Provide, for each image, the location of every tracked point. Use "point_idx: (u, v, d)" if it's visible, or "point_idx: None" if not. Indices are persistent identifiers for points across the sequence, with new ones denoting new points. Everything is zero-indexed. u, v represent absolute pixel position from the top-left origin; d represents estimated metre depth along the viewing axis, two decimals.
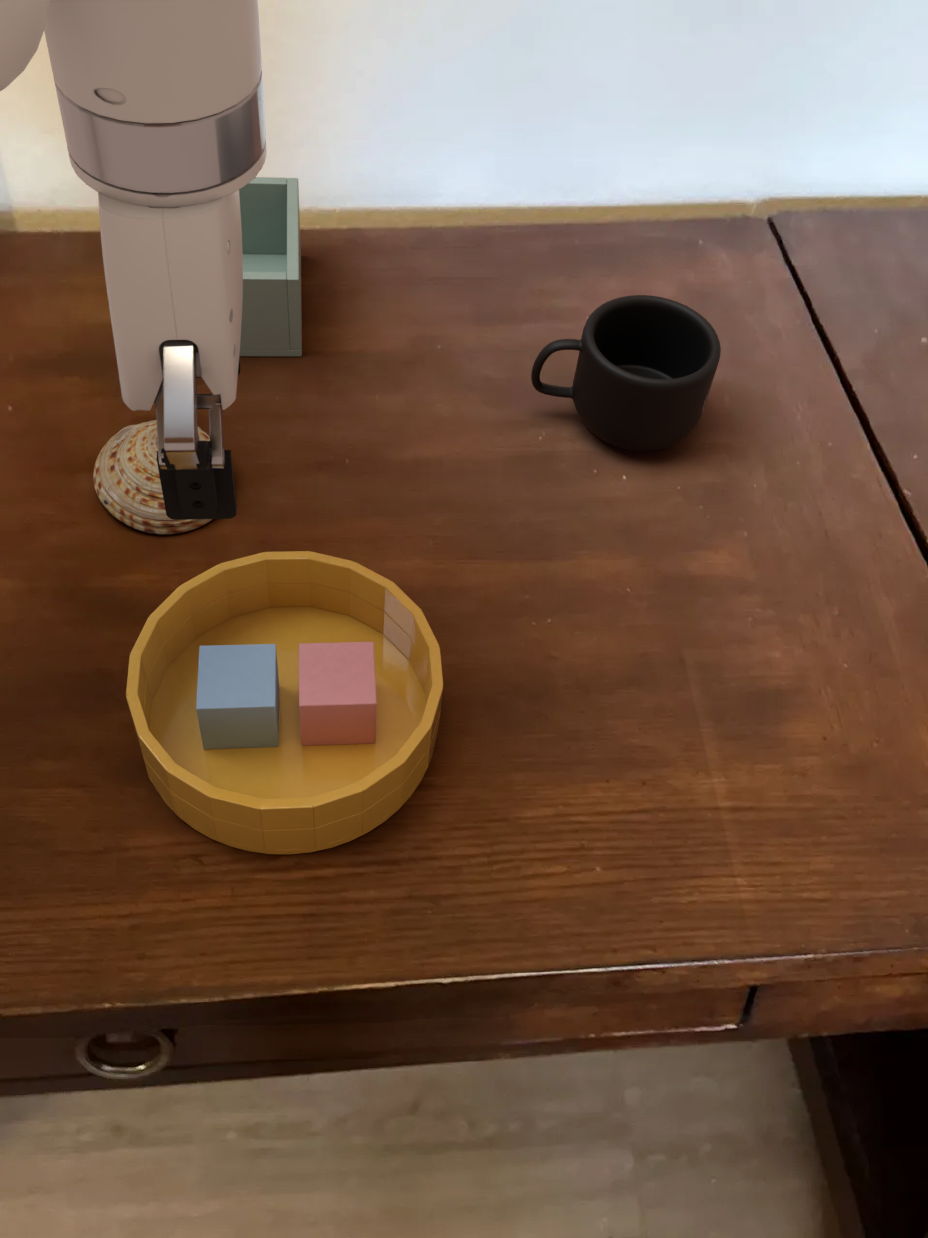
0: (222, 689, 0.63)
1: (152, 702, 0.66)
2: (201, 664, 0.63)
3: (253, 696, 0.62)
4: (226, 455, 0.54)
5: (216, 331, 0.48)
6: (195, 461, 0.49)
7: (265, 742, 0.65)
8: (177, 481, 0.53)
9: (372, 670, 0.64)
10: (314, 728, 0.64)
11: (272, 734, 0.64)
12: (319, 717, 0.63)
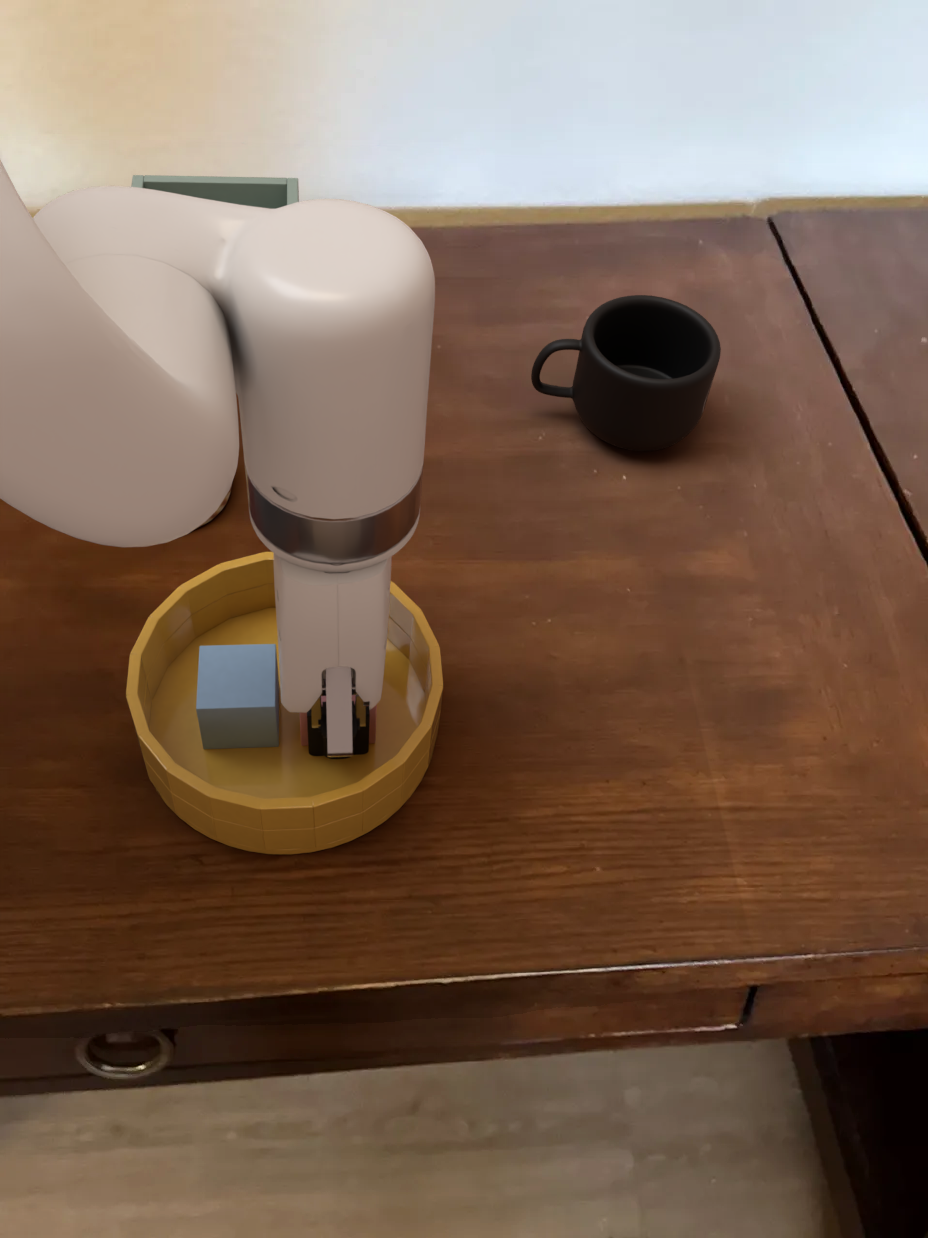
0: (222, 689, 0.63)
1: (152, 702, 0.66)
2: (201, 664, 0.63)
3: (253, 696, 0.62)
4: (365, 711, 0.62)
5: (372, 659, 0.55)
6: None
7: (265, 742, 0.65)
8: None
9: None
10: None
11: (272, 734, 0.64)
12: None
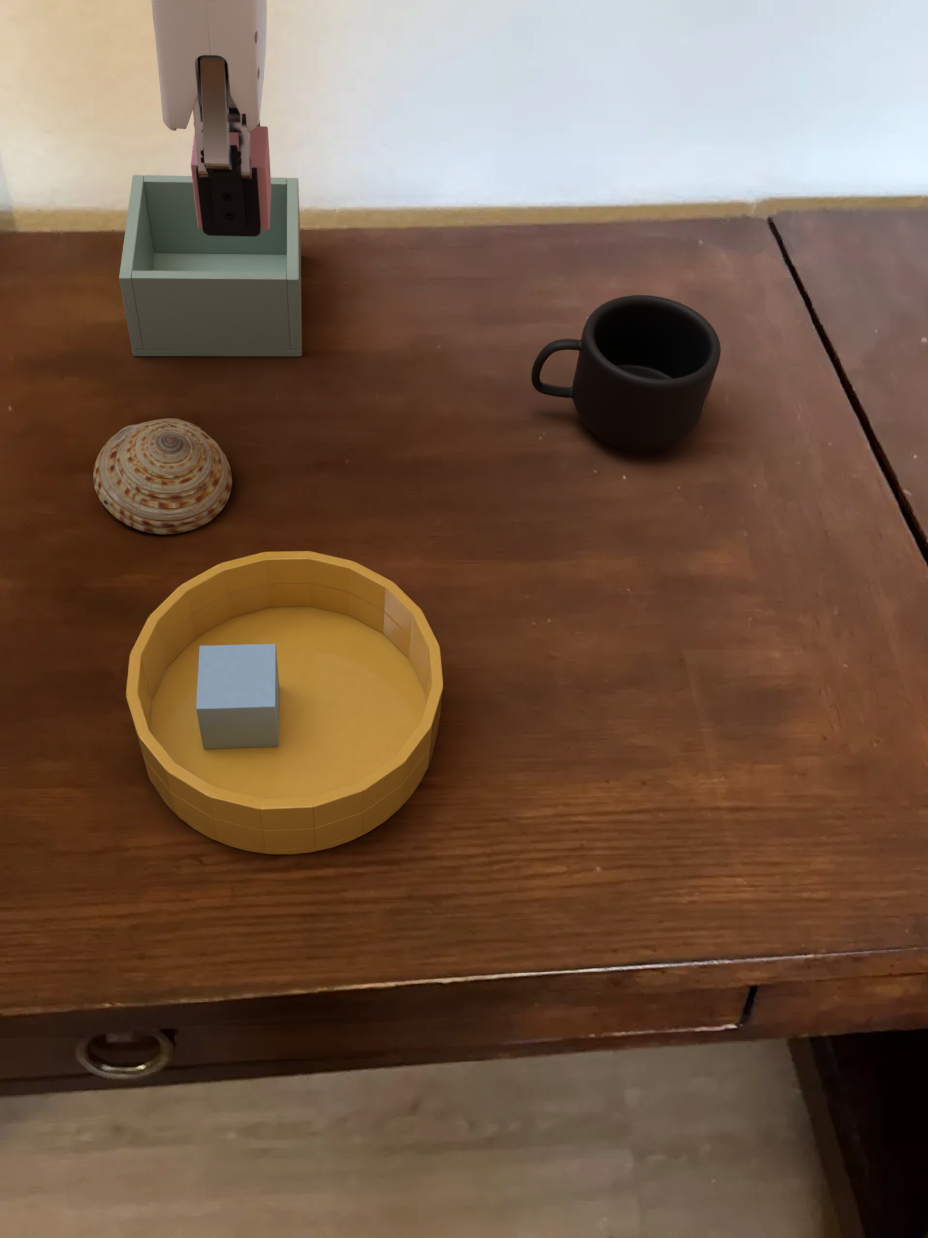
0: (222, 689, 0.63)
1: (152, 702, 0.66)
2: (201, 664, 0.63)
3: (253, 696, 0.62)
4: (253, 171, 0.65)
5: (243, 48, 0.57)
6: None
7: (265, 742, 0.65)
8: (212, 191, 0.65)
9: (264, 145, 0.67)
10: None
11: (272, 734, 0.64)
12: None
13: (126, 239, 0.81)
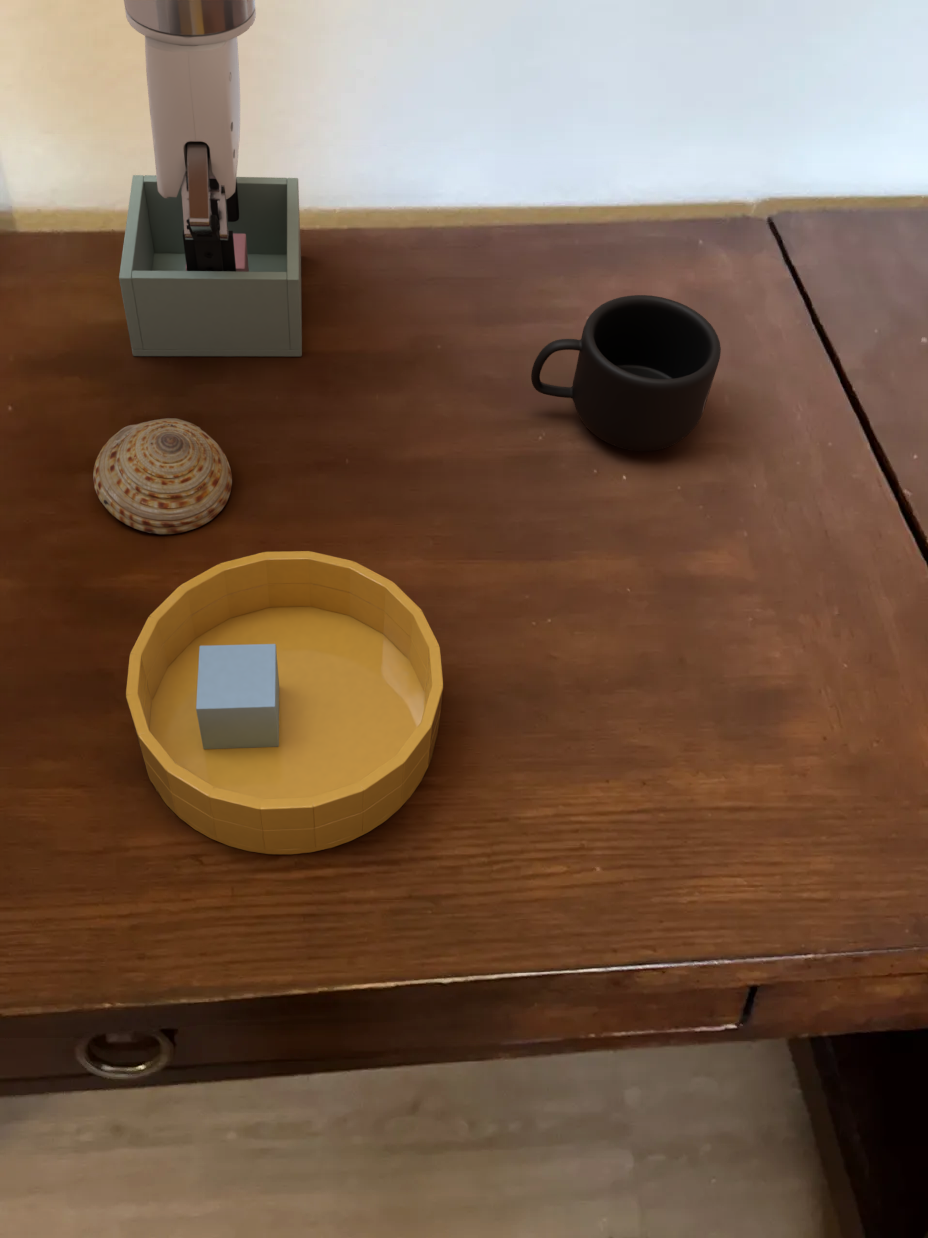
0: (222, 689, 0.63)
1: (152, 702, 0.66)
2: (201, 664, 0.63)
3: (253, 696, 0.62)
4: (229, 233, 0.79)
5: (221, 135, 0.72)
6: (209, 230, 0.75)
7: (265, 742, 0.65)
8: (196, 250, 0.79)
9: (243, 249, 0.85)
10: None
11: (272, 734, 0.64)
12: None
13: (126, 239, 0.81)
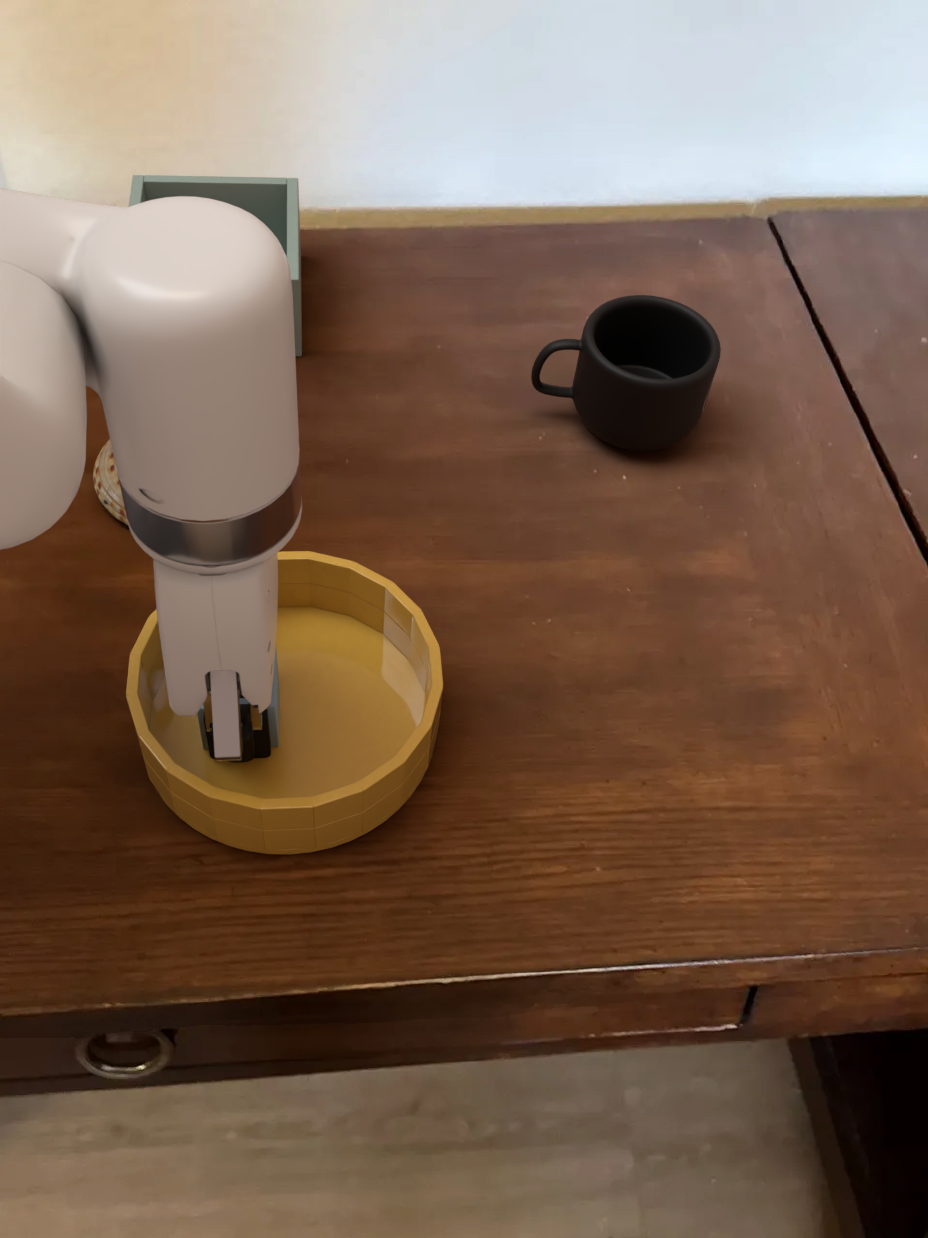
0: None
1: (152, 702, 0.66)
2: None
3: None
4: (263, 714, 0.62)
5: (256, 662, 0.54)
6: None
7: None
8: None
9: None
10: None
11: (272, 734, 0.64)
12: None
13: None
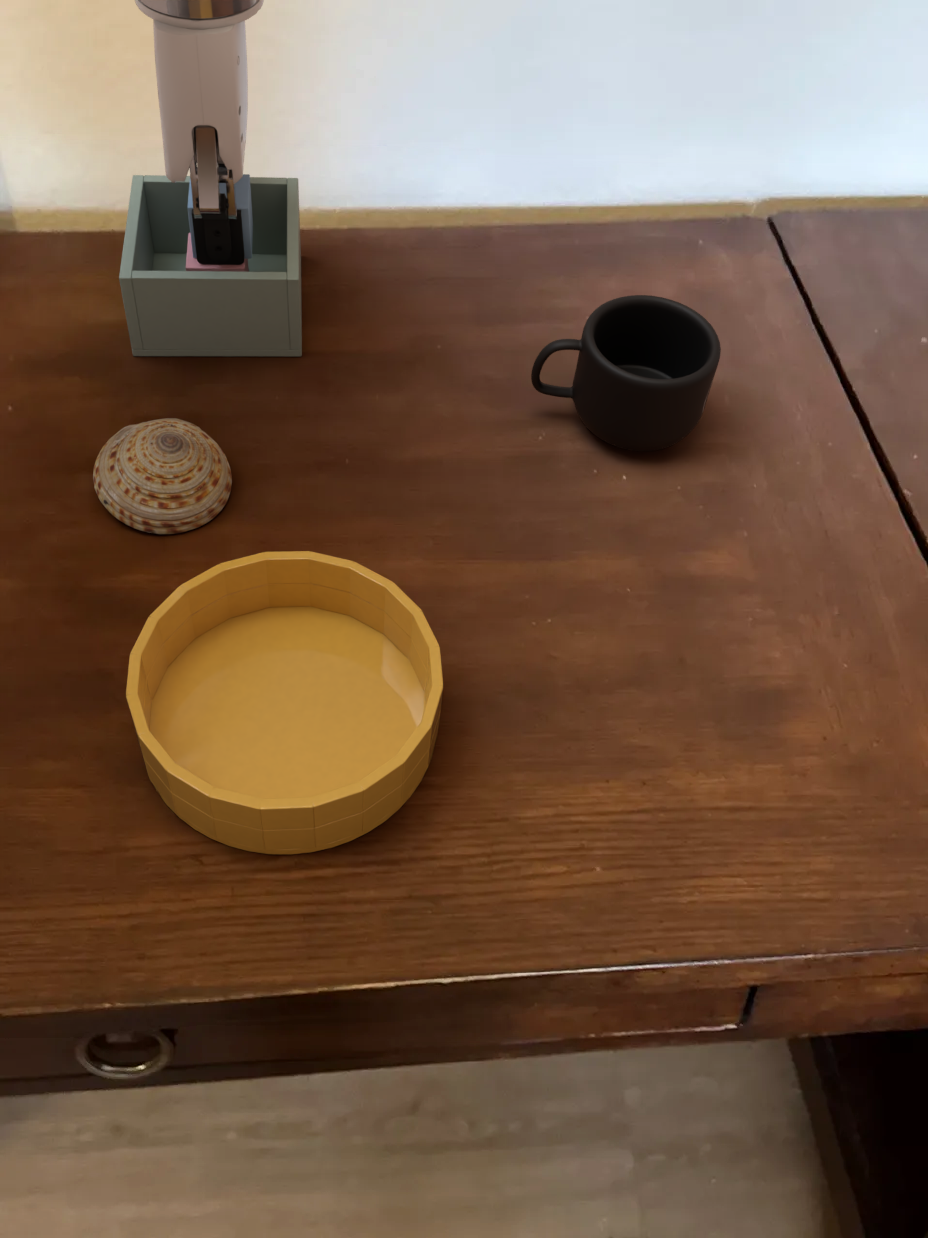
0: None
1: (152, 702, 0.66)
2: None
3: None
4: (238, 212, 0.80)
5: (229, 119, 0.73)
6: None
7: None
8: (205, 229, 0.80)
9: None
10: None
11: (246, 242, 0.83)
12: None
13: (126, 239, 0.81)
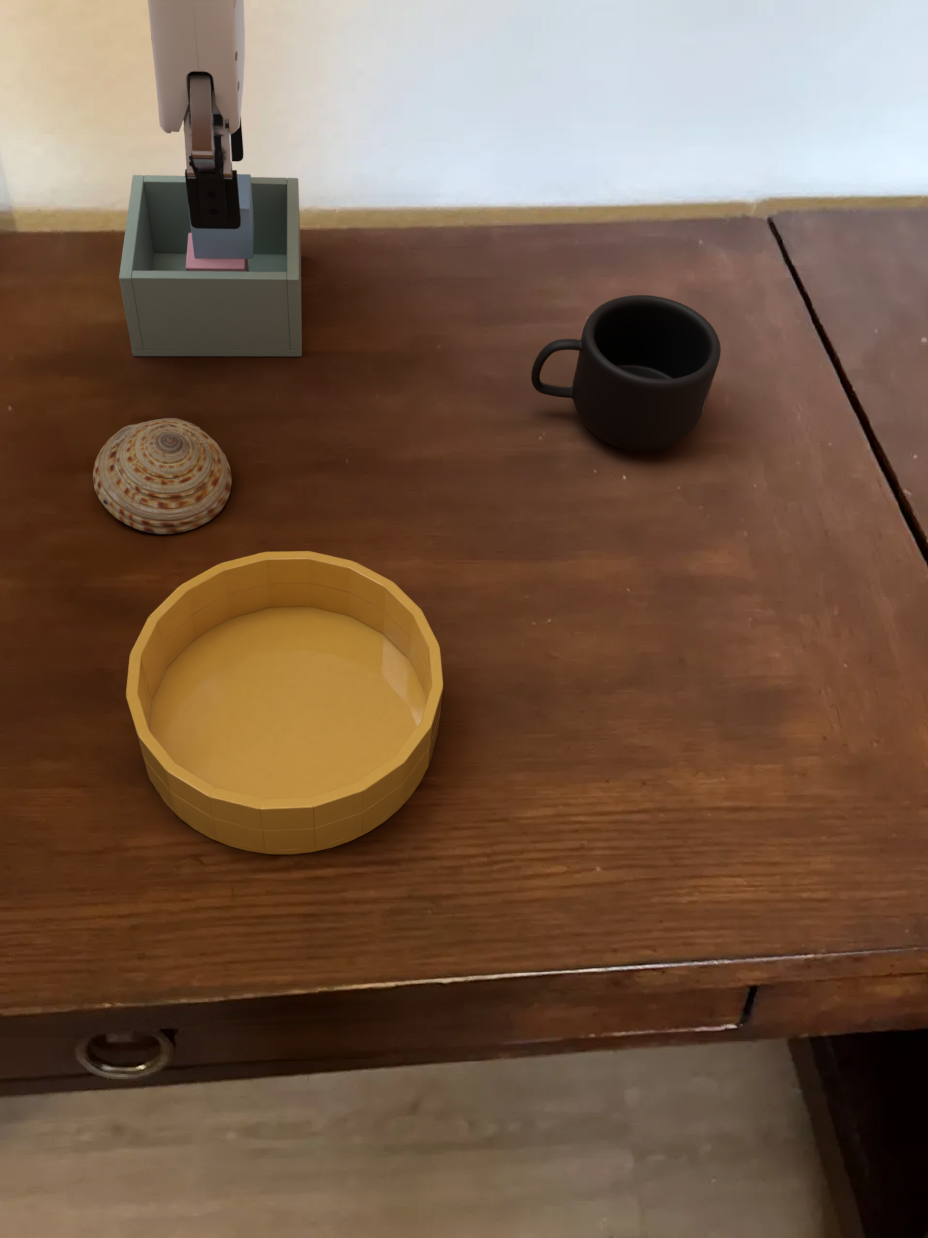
0: None
1: (152, 702, 0.66)
2: None
3: None
4: (233, 172, 0.77)
5: (226, 65, 0.70)
6: (212, 165, 0.72)
7: (242, 252, 0.84)
8: (199, 190, 0.76)
9: None
10: None
11: (247, 242, 0.83)
12: None
13: (126, 239, 0.81)
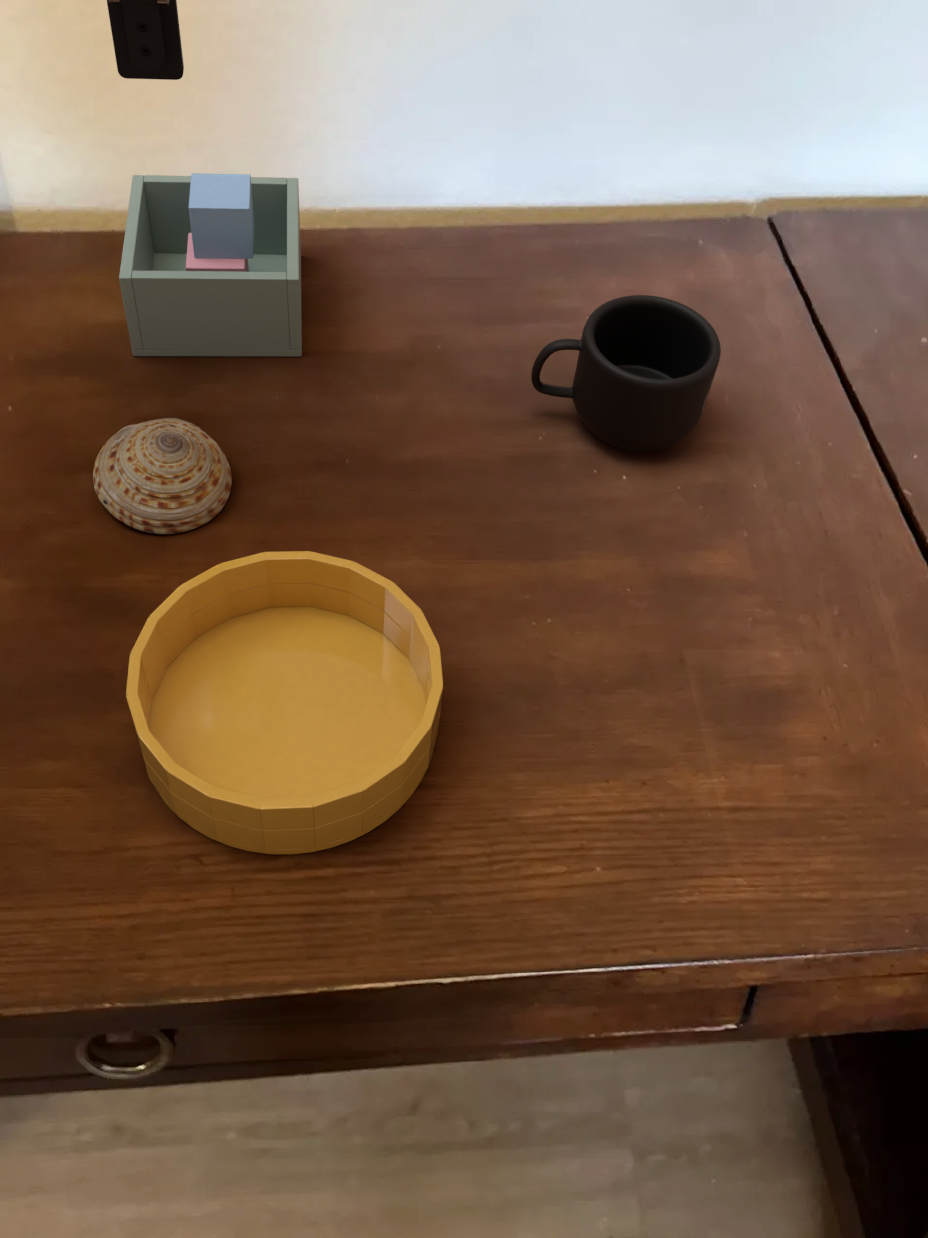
0: (209, 197, 0.81)
1: (152, 702, 0.66)
2: (192, 183, 0.82)
3: (232, 202, 0.81)
4: None
5: None
6: None
7: (242, 252, 0.84)
8: (125, 20, 0.58)
9: None
10: None
11: (247, 242, 0.83)
12: None
13: (126, 239, 0.81)
